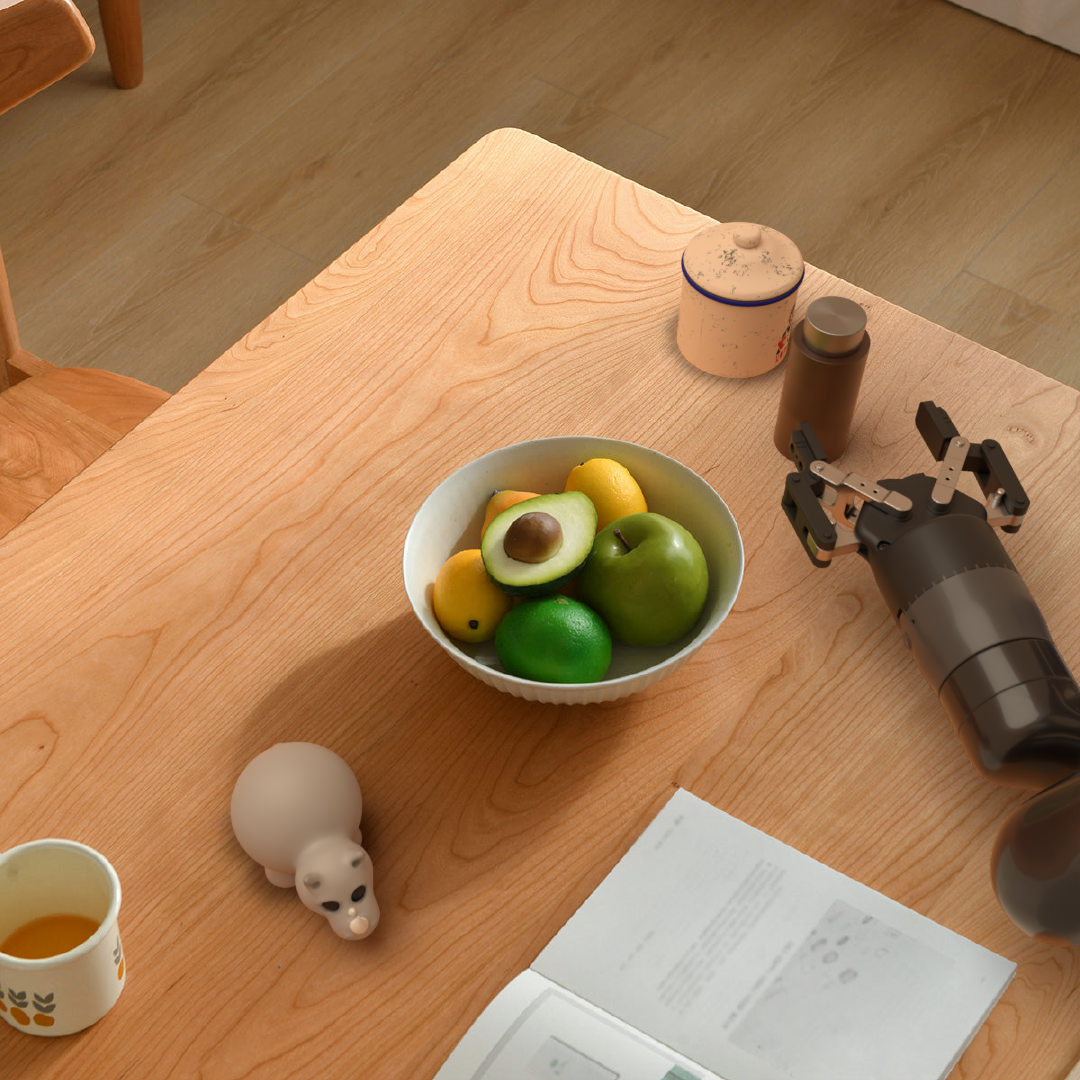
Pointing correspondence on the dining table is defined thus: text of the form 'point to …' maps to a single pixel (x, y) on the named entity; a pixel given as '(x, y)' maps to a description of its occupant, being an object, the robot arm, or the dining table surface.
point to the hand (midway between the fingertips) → (861, 420)
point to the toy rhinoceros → (308, 832)
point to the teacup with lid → (738, 299)
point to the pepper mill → (824, 374)
